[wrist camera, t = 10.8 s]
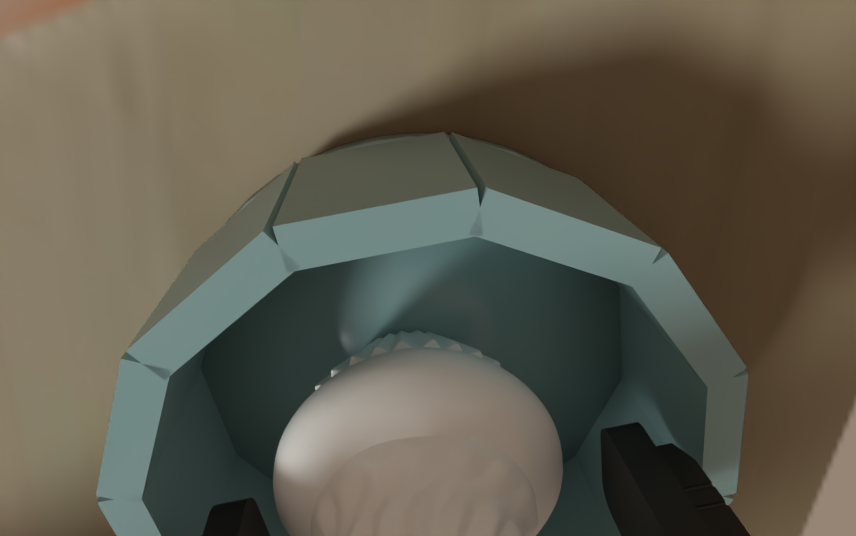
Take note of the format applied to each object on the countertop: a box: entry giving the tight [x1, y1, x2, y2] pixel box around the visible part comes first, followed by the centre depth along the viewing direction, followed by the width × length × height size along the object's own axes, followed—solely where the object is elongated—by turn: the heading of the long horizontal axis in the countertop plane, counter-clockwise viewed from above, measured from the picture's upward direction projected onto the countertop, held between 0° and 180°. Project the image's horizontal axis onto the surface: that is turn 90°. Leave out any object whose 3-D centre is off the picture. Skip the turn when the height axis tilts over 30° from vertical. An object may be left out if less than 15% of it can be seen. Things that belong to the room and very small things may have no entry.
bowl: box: [96, 132, 749, 536], centre depth 14 cm, size 13×13×5 cm
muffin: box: [273, 330, 563, 536], centre depth 12 cm, size 6×6×7 cm
